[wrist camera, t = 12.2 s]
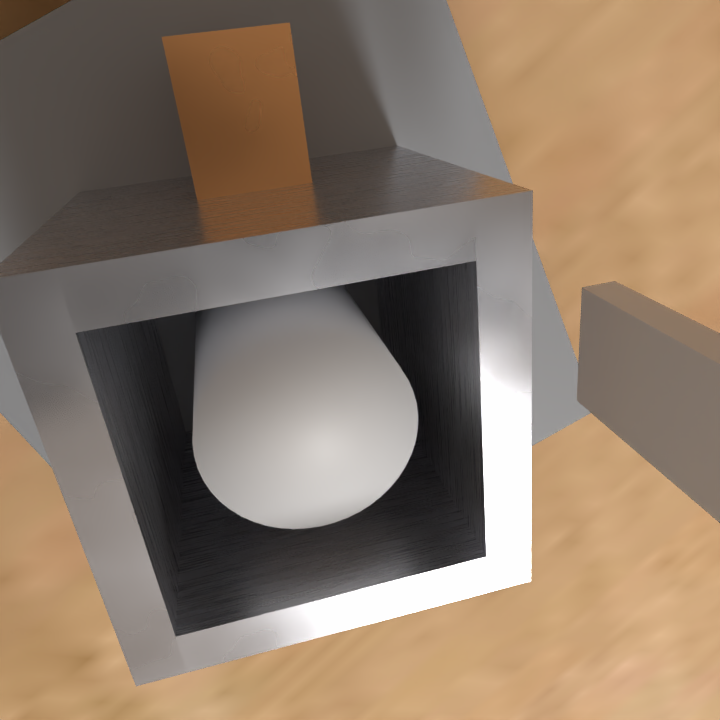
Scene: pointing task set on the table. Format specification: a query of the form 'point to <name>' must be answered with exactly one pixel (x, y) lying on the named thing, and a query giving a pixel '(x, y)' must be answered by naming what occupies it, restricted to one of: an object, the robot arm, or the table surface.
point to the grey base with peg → (277, 314)
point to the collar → (260, 281)
